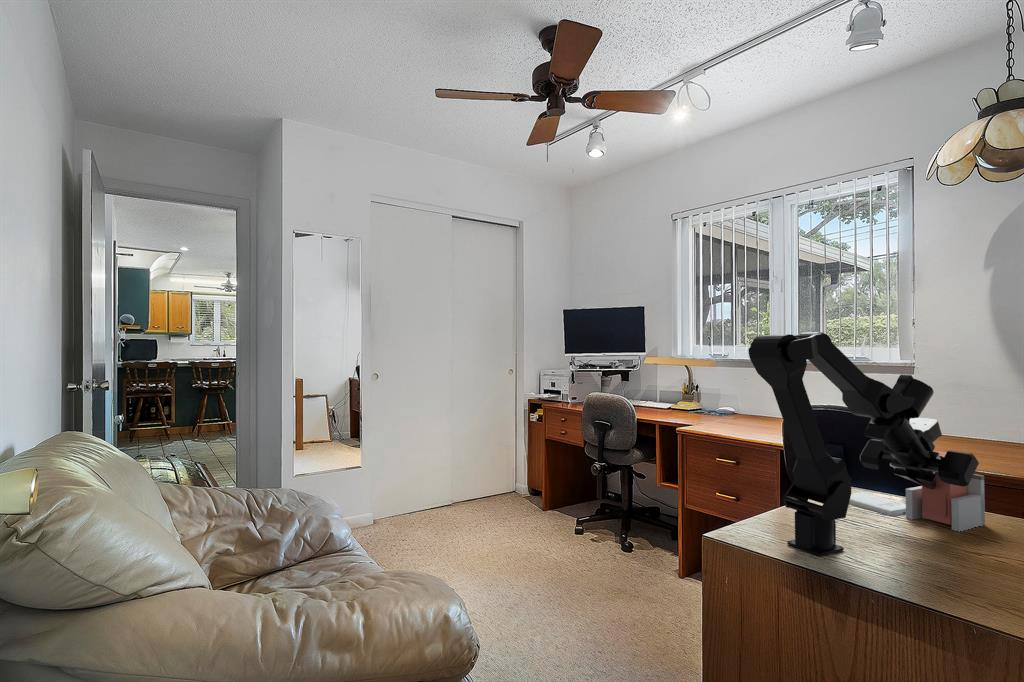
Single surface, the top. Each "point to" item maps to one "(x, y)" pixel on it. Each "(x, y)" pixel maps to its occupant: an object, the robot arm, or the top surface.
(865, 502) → the external hard drive
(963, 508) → the socket block
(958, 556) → the top surface
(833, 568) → the top surface
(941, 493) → the pink rectangular block
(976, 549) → the top surface
